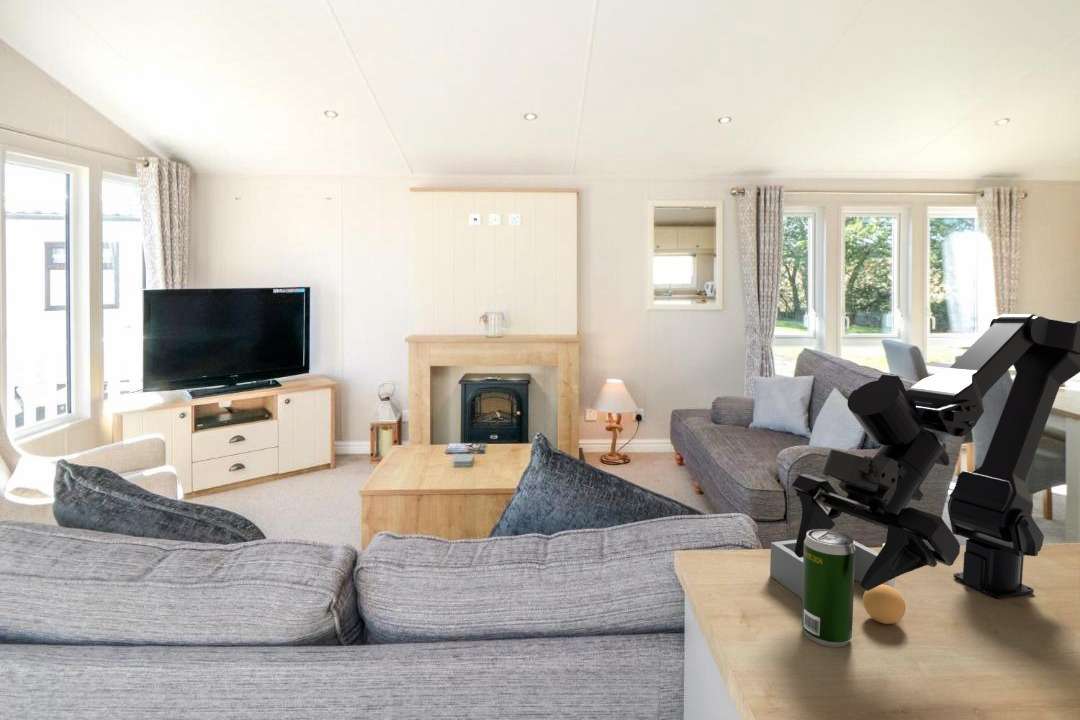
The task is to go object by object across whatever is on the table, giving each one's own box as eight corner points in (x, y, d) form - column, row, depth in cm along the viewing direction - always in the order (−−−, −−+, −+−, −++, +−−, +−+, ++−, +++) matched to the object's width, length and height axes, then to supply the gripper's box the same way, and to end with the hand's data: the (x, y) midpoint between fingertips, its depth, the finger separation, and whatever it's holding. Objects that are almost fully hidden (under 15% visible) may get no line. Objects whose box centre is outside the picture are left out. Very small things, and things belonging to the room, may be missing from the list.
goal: (842, 566, 85) (844, 521, 85) (897, 598, 76) (899, 547, 75) (768, 576, 82) (769, 529, 82) (815, 610, 73) (817, 557, 72)
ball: (883, 609, 73) (885, 575, 73) (913, 628, 69) (915, 592, 68) (853, 614, 72) (855, 579, 72) (882, 633, 68) (884, 597, 67)
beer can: (836, 654, 64) (839, 550, 63) (791, 632, 68) (794, 534, 67) (861, 638, 66) (865, 539, 66) (817, 618, 71) (820, 525, 70)
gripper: (803, 413, 76) (735, 504, 73) (949, 442, 59) (867, 563, 55) (844, 465, 79) (780, 554, 76) (992, 507, 62) (918, 625, 59)
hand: (828, 570), depth 67 cm, fingers open, 9 cm apart
